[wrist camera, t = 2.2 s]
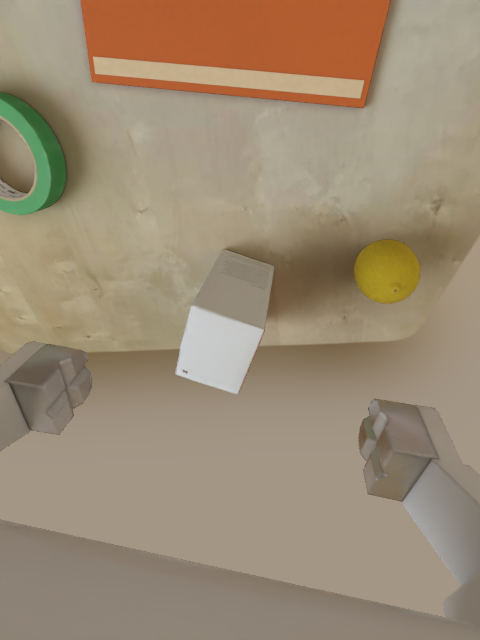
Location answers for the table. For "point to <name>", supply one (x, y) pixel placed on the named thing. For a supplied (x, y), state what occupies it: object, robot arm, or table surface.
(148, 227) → the table surface
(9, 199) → the tape roll
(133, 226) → the table surface
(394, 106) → the table surface
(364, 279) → the lemon
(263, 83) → the towel
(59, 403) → the robot arm
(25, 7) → the table surface
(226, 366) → the small box
